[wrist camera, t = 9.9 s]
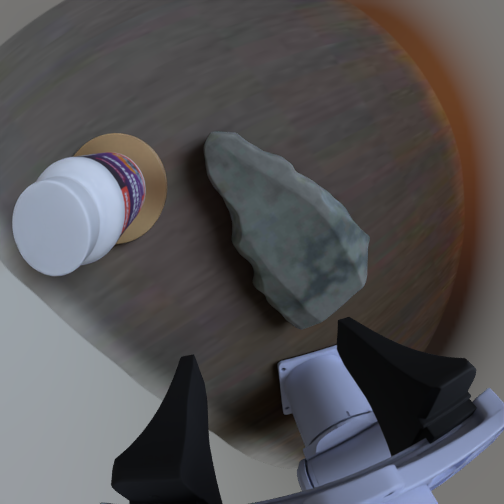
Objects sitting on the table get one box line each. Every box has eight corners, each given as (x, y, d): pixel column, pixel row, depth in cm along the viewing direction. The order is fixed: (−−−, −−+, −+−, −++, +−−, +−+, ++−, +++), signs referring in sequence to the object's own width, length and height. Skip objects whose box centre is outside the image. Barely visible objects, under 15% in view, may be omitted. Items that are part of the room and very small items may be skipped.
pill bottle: (159, 207, 19) (130, 264, 10) (96, 238, 19) (39, 308, 10) (129, 137, 17) (71, 135, 8) (66, 173, 17) (-16, 203, 8)
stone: (159, 169, 17) (291, 83, 16) (167, 165, 20) (279, 92, 19) (295, 345, 23) (393, 278, 22) (286, 324, 26) (375, 263, 25)
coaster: (177, 228, 21) (176, 231, 20) (82, 250, 20) (79, 254, 19) (156, 121, 18) (155, 120, 17) (58, 151, 17) (53, 152, 16)
